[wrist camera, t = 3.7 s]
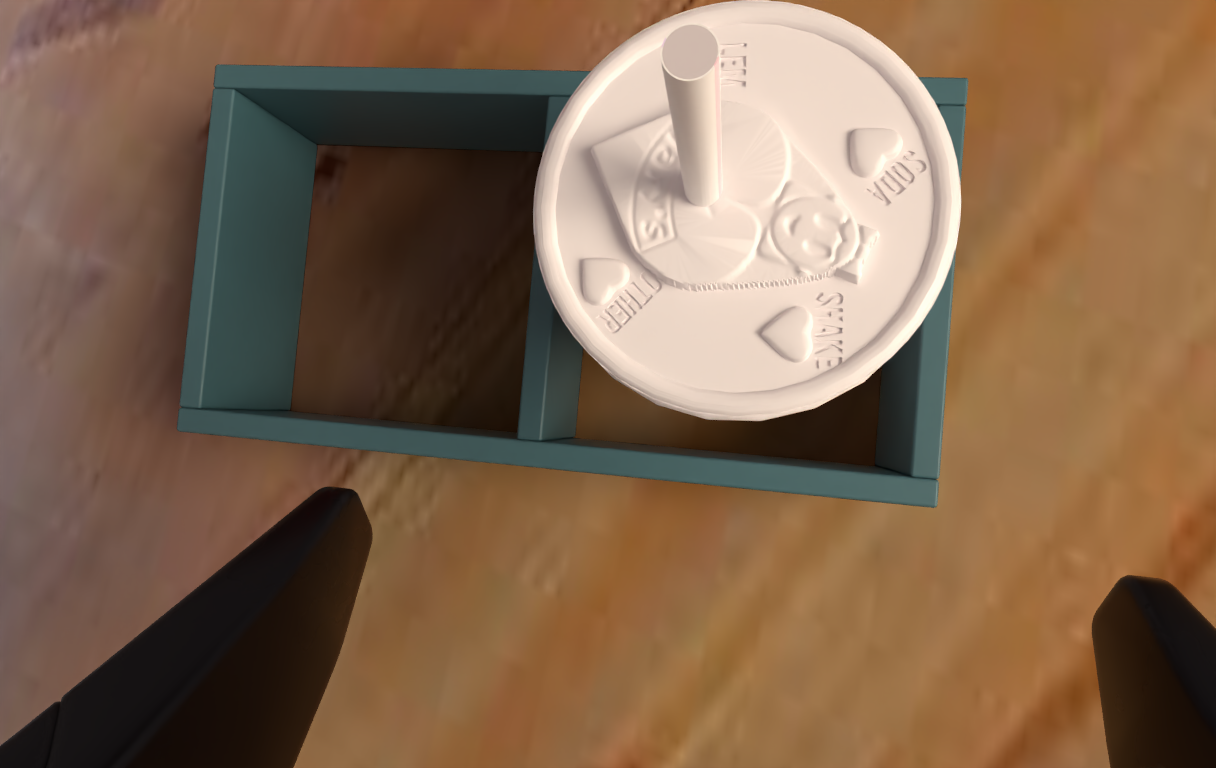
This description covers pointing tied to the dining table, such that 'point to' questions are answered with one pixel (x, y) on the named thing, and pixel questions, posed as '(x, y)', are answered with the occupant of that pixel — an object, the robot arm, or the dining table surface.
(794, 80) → the smoothie
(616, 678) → the dining table surface
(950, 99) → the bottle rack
